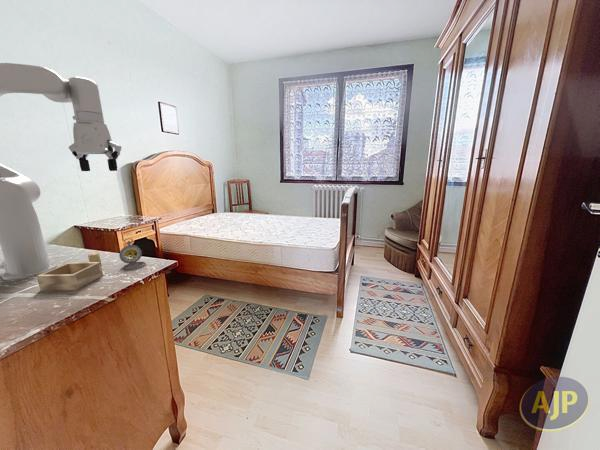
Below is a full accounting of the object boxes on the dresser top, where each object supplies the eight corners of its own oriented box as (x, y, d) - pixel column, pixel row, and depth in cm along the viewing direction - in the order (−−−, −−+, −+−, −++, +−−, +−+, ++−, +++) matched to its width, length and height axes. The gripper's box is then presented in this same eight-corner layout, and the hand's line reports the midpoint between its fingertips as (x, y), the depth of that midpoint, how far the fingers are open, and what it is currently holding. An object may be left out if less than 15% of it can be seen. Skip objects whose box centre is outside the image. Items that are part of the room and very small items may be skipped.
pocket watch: (135, 272, 83) (130, 244, 80) (114, 270, 84) (109, 242, 82) (153, 263, 90) (149, 237, 88) (134, 261, 92) (130, 236, 90)
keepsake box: (40, 292, 70) (36, 276, 69) (72, 277, 79) (68, 262, 78) (76, 291, 70) (72, 275, 69) (103, 276, 80) (100, 262, 78)
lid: (68, 276, 81) (64, 259, 80) (93, 264, 91) (90, 249, 90) (100, 276, 81) (96, 259, 80) (122, 264, 92) (119, 249, 90)
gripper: (53, 117, 80) (65, 171, 84) (107, 117, 80) (116, 170, 84) (73, 121, 87) (83, 171, 91) (123, 121, 87) (131, 170, 91)
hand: (99, 170), depth 87 cm, fingers open, 9 cm apart
